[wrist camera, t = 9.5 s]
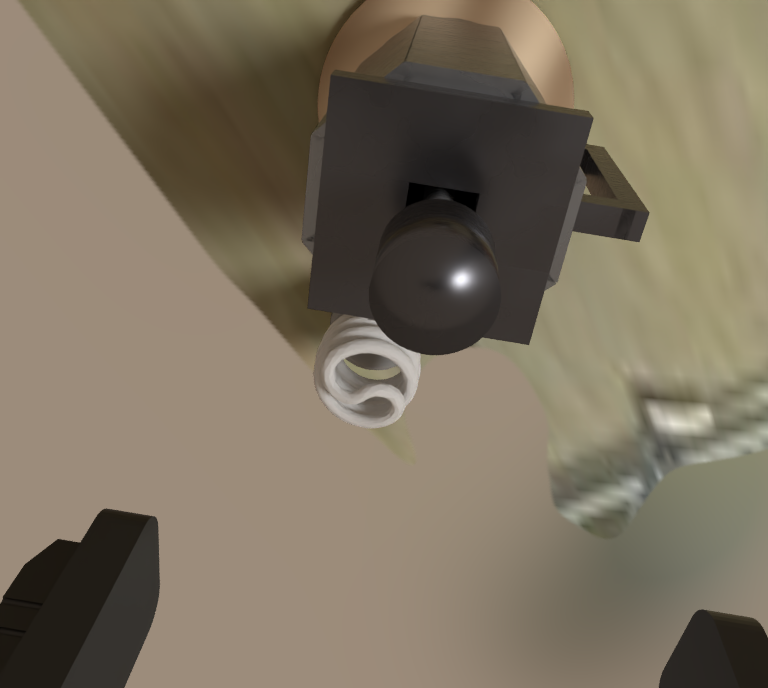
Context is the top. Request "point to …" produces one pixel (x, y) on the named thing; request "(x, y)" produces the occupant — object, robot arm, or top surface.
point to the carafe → (456, 166)
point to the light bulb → (356, 393)
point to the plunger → (435, 275)
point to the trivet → (473, 3)
